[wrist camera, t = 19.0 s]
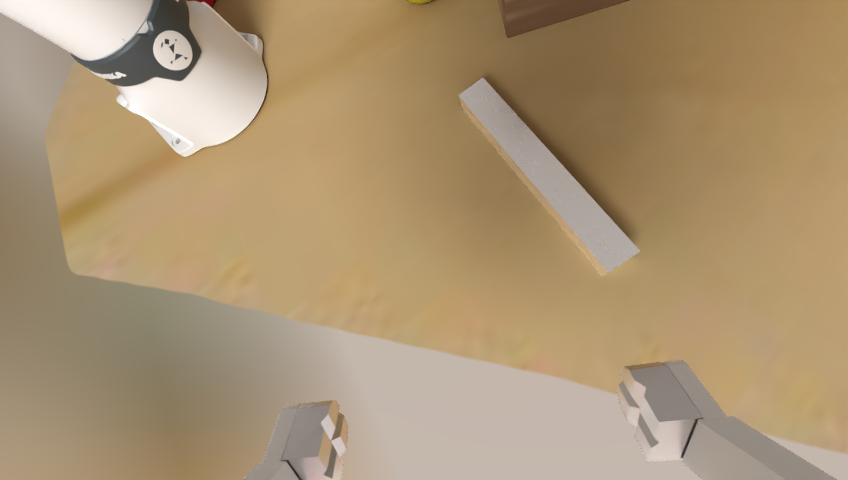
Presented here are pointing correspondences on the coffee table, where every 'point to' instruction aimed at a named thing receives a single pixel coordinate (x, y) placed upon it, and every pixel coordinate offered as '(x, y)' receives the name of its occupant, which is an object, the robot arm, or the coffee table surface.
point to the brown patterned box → (545, 12)
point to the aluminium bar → (547, 179)
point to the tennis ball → (419, 1)
